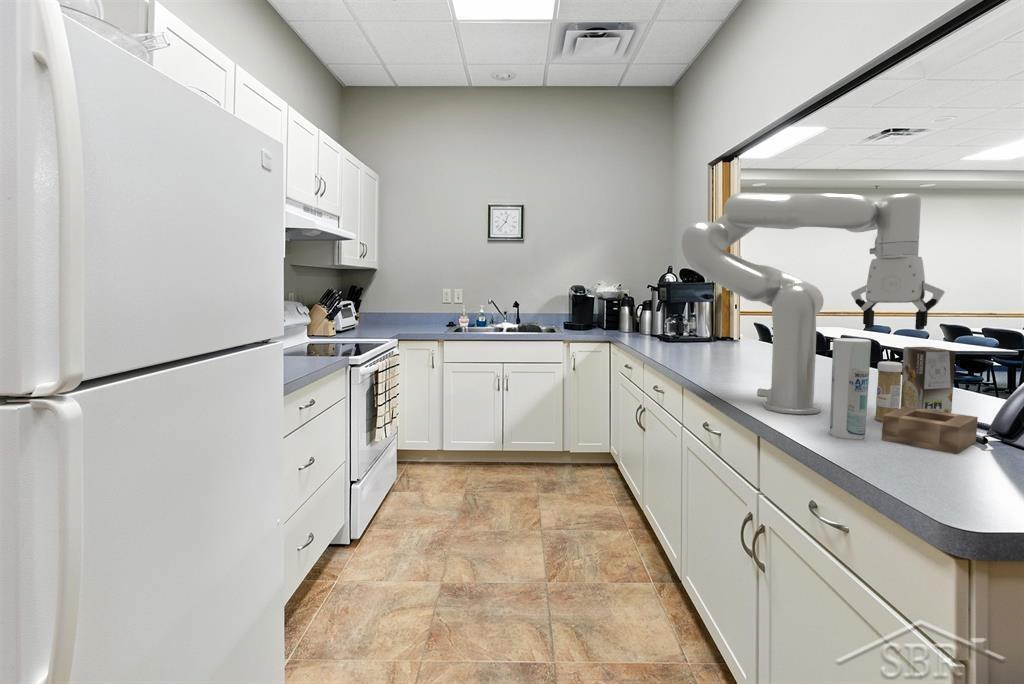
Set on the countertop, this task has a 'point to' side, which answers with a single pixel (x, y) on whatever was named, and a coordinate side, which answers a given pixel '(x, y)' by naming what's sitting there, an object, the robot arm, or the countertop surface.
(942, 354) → the coffee box
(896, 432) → the bore block
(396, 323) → the countertop surface
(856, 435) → the spray can
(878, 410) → the sprinkles bottle
